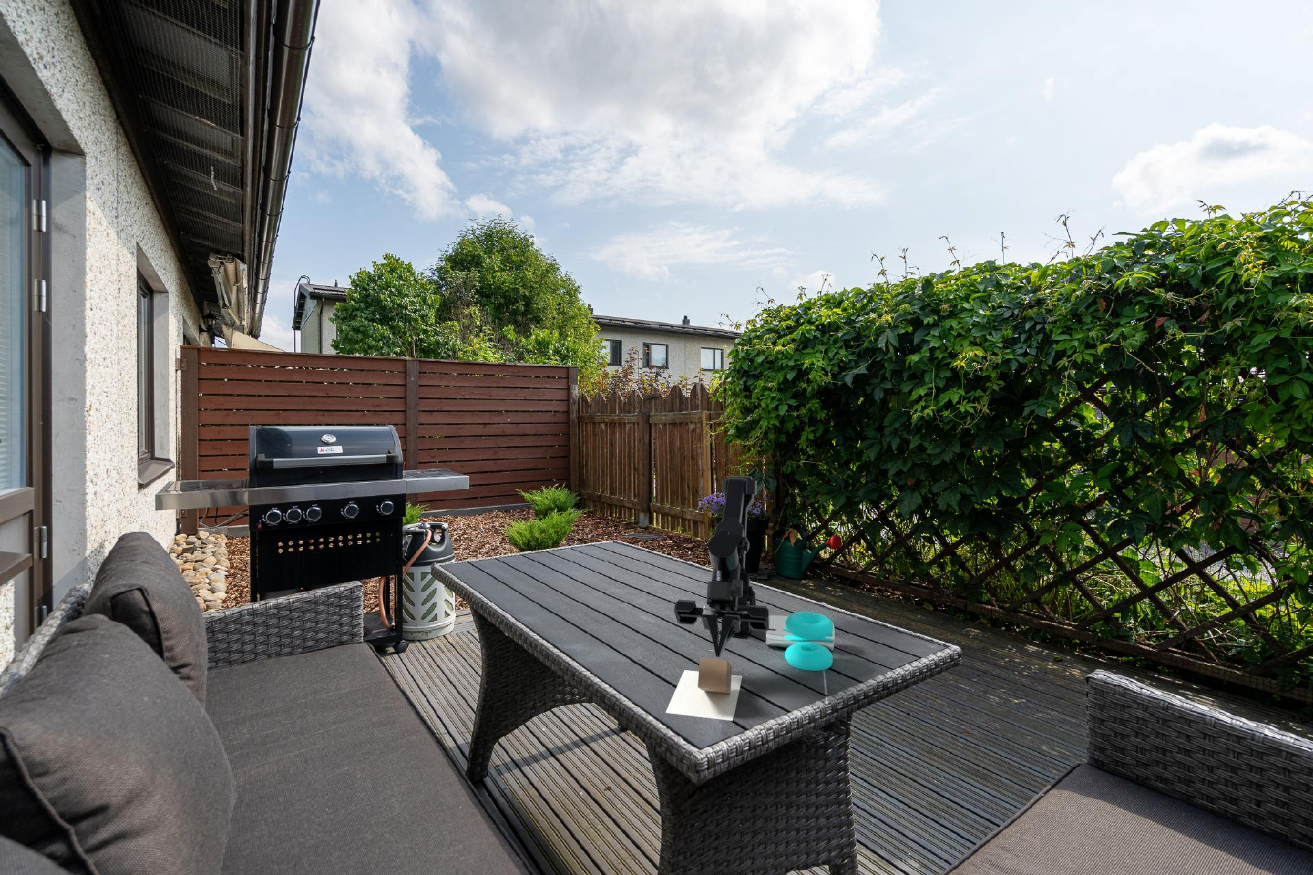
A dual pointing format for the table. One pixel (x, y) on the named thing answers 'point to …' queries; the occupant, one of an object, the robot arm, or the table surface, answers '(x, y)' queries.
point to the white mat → (703, 699)
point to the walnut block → (715, 676)
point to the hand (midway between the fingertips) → (717, 656)
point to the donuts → (807, 652)
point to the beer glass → (791, 635)
